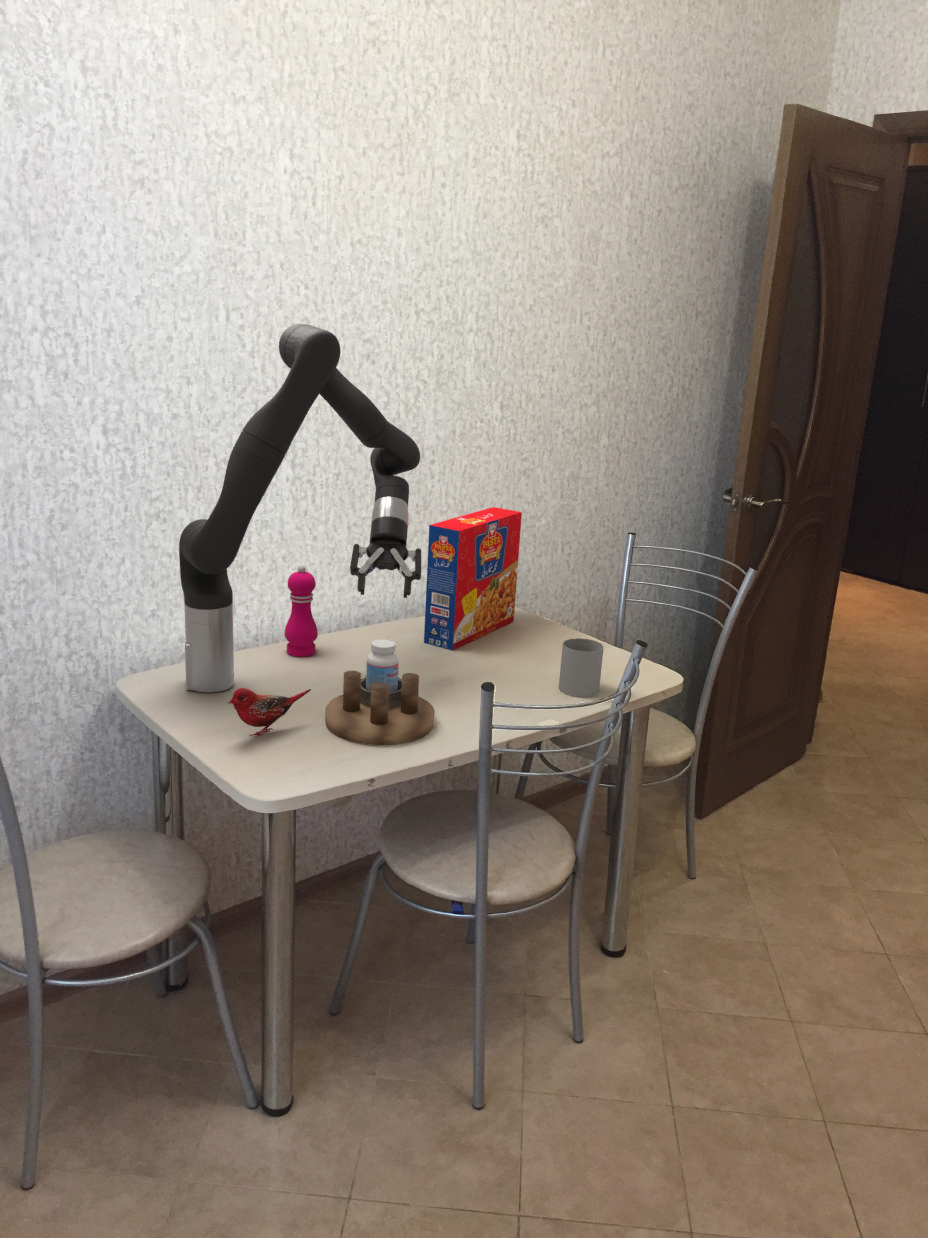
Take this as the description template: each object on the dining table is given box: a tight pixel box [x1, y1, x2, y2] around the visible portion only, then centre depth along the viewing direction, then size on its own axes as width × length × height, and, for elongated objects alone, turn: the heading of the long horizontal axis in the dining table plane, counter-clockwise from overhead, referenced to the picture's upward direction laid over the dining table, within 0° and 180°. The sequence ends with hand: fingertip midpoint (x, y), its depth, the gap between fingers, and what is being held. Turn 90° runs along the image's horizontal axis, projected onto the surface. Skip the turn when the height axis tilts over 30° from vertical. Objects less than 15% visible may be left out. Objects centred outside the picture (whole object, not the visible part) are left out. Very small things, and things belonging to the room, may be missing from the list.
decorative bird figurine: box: [228, 687, 312, 737], centre depth 184 cm, size 3×18×10 cm, turn 134°
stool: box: [324, 670, 436, 746], centre depth 190 cm, size 20×20×10 cm
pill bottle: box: [365, 639, 400, 692], centre depth 195 cm, size 6×6×11 cm
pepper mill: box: [284, 564, 319, 658], centre depth 222 cm, size 7×7×20 cm
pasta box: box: [423, 506, 523, 652], centre depth 241 cm, size 28×8×28 cm, turn 148°
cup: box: [558, 637, 604, 699], centre depth 212 cm, size 8×8×10 cm
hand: (383, 594), depth 202 cm, fingers open, 8 cm apart
